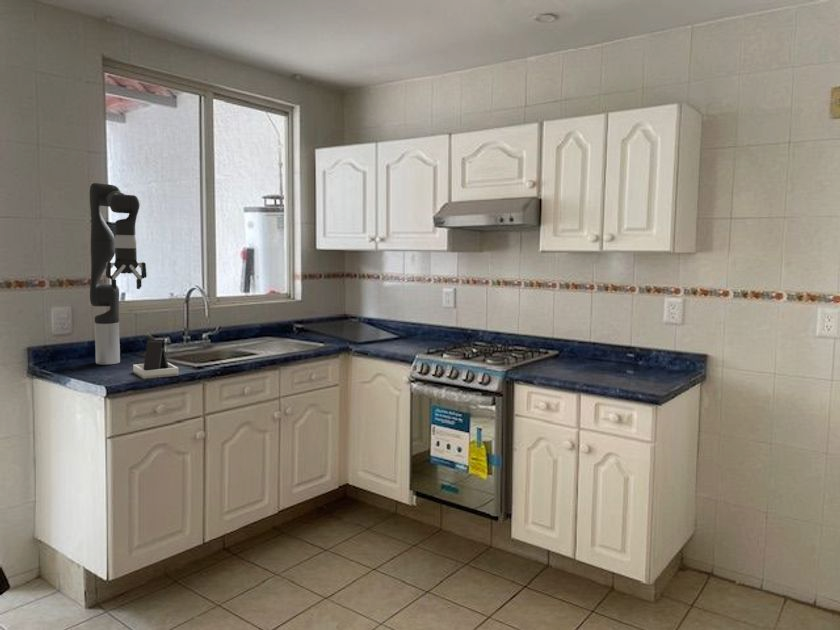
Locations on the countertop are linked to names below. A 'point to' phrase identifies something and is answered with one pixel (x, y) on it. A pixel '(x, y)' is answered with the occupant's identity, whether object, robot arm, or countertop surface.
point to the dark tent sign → (155, 356)
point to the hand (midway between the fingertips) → (126, 289)
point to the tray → (155, 371)
